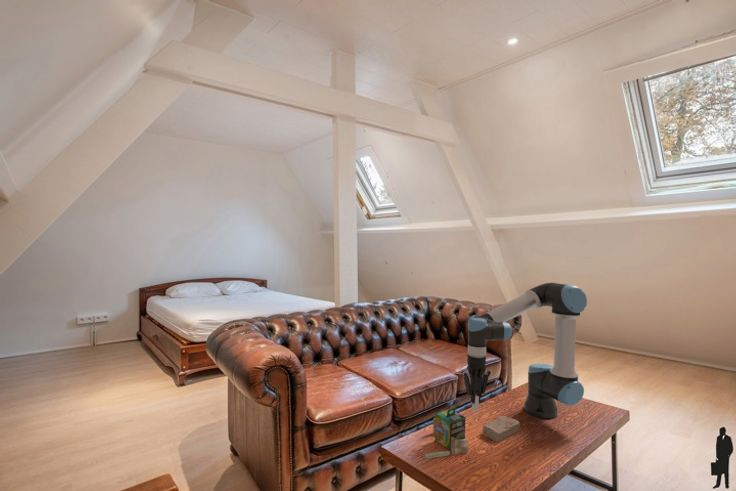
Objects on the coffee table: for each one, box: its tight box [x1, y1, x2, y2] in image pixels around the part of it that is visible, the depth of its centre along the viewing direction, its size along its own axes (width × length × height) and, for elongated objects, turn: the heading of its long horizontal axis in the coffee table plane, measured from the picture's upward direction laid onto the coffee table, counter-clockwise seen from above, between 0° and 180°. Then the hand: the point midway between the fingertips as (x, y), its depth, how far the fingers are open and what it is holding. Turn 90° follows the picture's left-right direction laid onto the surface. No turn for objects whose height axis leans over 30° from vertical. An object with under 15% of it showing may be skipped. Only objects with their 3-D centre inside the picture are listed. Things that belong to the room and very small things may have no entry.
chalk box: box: [434, 406, 466, 451], centre depth 154 cm, size 9×9×15 cm
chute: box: [432, 417, 469, 456], centre depth 154 cm, size 7×17×6 cm, turn 15°
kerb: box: [424, 450, 451, 459], centre depth 144 cm, size 10×1×1 cm, turn 105°
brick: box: [482, 415, 521, 443], centre depth 162 cm, size 17×8×5 cm, turn 127°
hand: (475, 410), depth 157 cm, fingers closed
